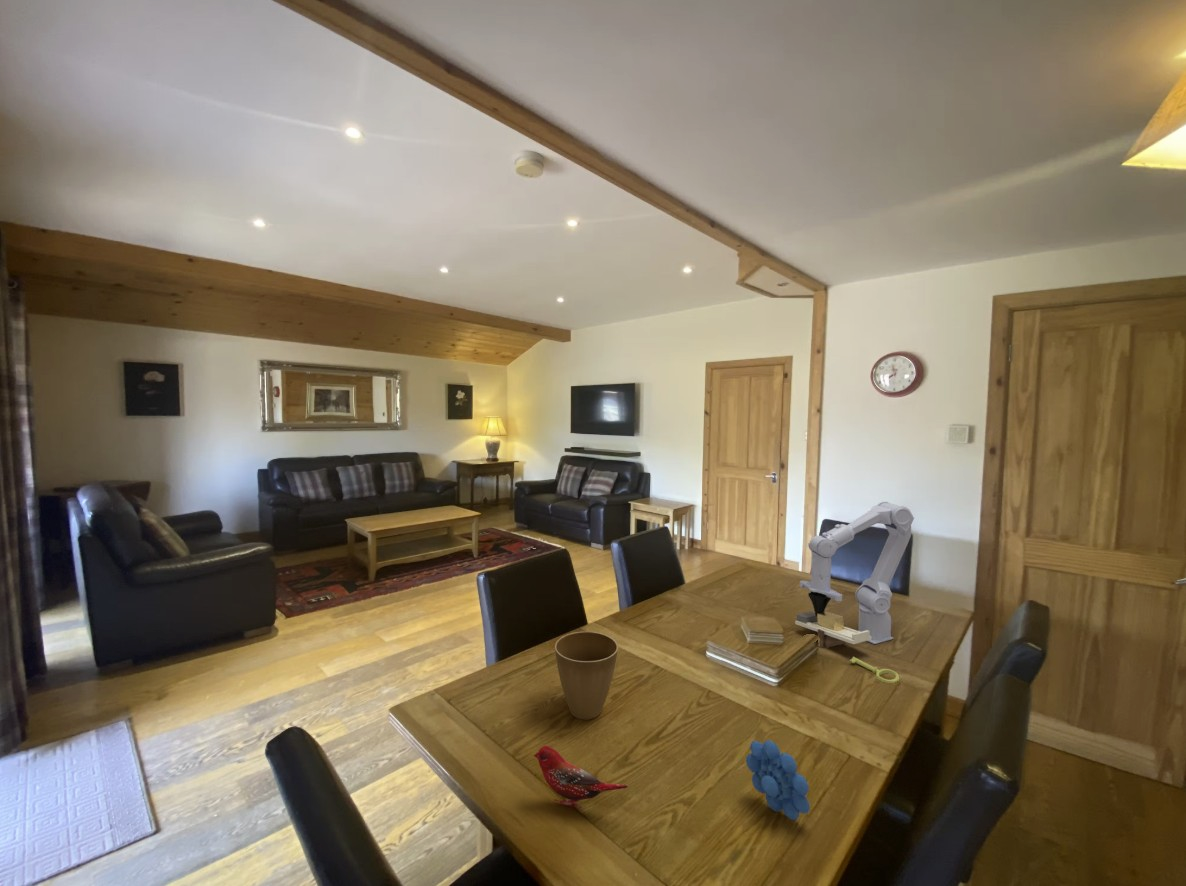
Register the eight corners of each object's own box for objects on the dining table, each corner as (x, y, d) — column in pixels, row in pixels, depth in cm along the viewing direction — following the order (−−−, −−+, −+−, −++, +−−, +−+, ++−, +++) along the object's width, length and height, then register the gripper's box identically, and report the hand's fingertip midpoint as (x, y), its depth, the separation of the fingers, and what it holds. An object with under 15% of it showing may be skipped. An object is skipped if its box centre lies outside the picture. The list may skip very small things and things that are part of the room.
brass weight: (817, 626, 155) (817, 613, 155) (827, 624, 156) (826, 611, 156) (834, 631, 149) (833, 618, 149) (843, 629, 151) (843, 616, 151)
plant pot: (545, 700, 120) (546, 637, 119) (601, 688, 125) (602, 627, 125) (566, 737, 106) (567, 665, 105) (627, 721, 112) (629, 653, 111)
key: (851, 662, 142) (851, 655, 142) (900, 677, 134) (901, 669, 134) (845, 672, 136) (845, 664, 136) (896, 688, 129) (897, 680, 128)
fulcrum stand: (815, 644, 152) (815, 628, 152) (838, 638, 156) (838, 623, 156) (823, 648, 149) (824, 632, 149) (846, 642, 154) (847, 626, 153)
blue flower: (733, 804, 88) (735, 740, 87) (751, 785, 93) (753, 724, 92) (797, 845, 80) (800, 774, 79) (814, 822, 84) (816, 755, 84)
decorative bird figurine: (536, 791, 91) (536, 738, 90) (629, 814, 85) (630, 759, 85) (529, 802, 88) (530, 748, 87) (625, 827, 83) (626, 770, 82)
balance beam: (795, 624, 160) (794, 614, 160) (812, 620, 164) (812, 611, 164) (853, 644, 141) (852, 633, 141) (871, 639, 145) (871, 629, 145)
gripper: (793, 569, 161) (792, 609, 161) (831, 582, 148) (829, 626, 148) (808, 566, 164) (807, 606, 164) (847, 579, 151) (845, 622, 151)
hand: (819, 615), depth 157 cm, fingers closed
